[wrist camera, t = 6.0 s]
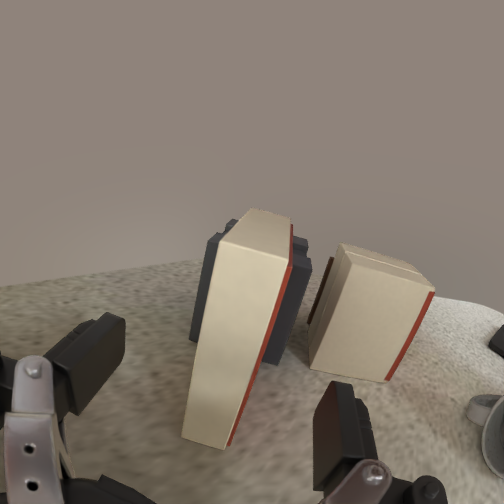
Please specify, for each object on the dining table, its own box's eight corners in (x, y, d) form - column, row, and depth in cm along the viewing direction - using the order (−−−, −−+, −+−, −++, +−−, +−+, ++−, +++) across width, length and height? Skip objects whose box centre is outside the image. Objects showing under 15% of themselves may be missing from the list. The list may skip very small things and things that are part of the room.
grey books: (283, 312, 30) (307, 237, 28) (278, 365, 22) (312, 269, 19) (216, 293, 31) (233, 216, 28) (188, 339, 22) (207, 240, 20)
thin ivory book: (249, 366, 21) (294, 218, 18) (227, 452, 13) (294, 261, 10) (214, 356, 21) (251, 206, 18) (180, 437, 14) (219, 239, 10)
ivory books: (370, 336, 29) (403, 256, 27) (387, 384, 22) (437, 288, 19) (306, 320, 30) (336, 235, 27) (309, 369, 22) (352, 263, 19)
